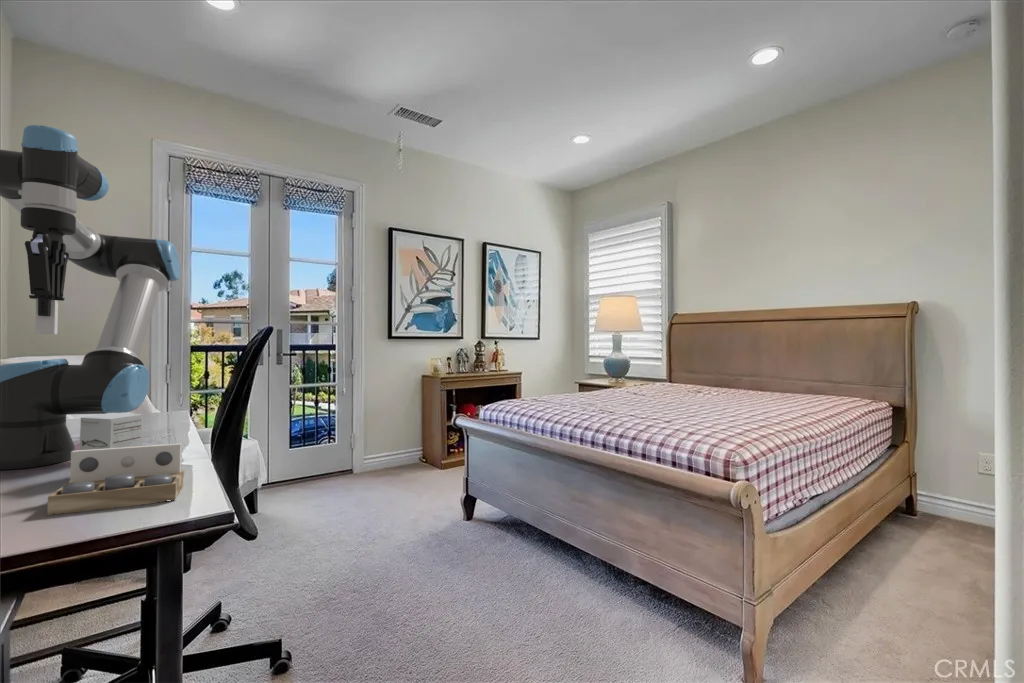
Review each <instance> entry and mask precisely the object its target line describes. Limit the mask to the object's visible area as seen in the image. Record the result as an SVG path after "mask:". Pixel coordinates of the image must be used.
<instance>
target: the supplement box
mask: <svg viewBox="0 0 1024 683" xmlns="http://www.w3.org/2000/svg"><path fill="white" fill-rule="evenodd" d="M143 415H144V414H141V413H128V412H127V413H106V414H92V415H88V416H82V417H80V429H79V430H80V433H79V436H80V437H79V450H91V449H106V448H121V447H135V446H143V445H142V444H143V417H144V416H143Z"/></svg>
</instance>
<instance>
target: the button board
mask: <svg viewBox="0 0 1024 683" xmlns="http://www.w3.org/2000/svg"><path fill="white" fill-rule="evenodd" d="M170 475H172V484H162V485H152V486H144V481H145V478H146V477H149V476H140V477H135V479H134V487H132V488H122V489H112V490H105V480H96V481H93V482H95V487H94V491H92V492H82V493H72V494H63V486H65V485H67V484H71V483H70V480H69V481H67V482H66V483H65V484H63V485H62V486H60V487H59V488H58V489H57V490H55V491H54V492H52V493H51V494H50V495H48V496H47V516H53V514H55V515H62V513H64V514H70V513H71V514H72V513H80V512H88V511H97V510H98V509H99V510H107V509H115V507H116V508H125V507H131V506H133V507H135V506H140V505H141V506H142V504H143V505H149V504H150V505H151V504H157V502H160V503H163V502H162V501H167V500H175V499H176V497H177V496H179V495H180V493H181V492H180V490H181V489H183V488H184V486H185V469H181V472H180V473H173V474H170ZM151 476H153V475H151ZM74 483H76V482H74ZM183 485H184V486H183ZM182 487H183V488H182ZM181 491H182V490H181ZM179 492H180V493H179ZM178 494H179V495H178ZM177 498H178V497H177ZM176 500H177V499H176ZM176 500H175V501H176Z"/></svg>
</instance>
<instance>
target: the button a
mask: <svg viewBox="0 0 1024 683" xmlns="http://www.w3.org/2000/svg"><path fill="white" fill-rule="evenodd" d="M64 485H65V484H64ZM62 486H63V485H62ZM94 487H95V482H93V481H83V482H76V483H71V484H67V485H65V486H63V494H72V493H82V492H92V491H94Z"/></svg>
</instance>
